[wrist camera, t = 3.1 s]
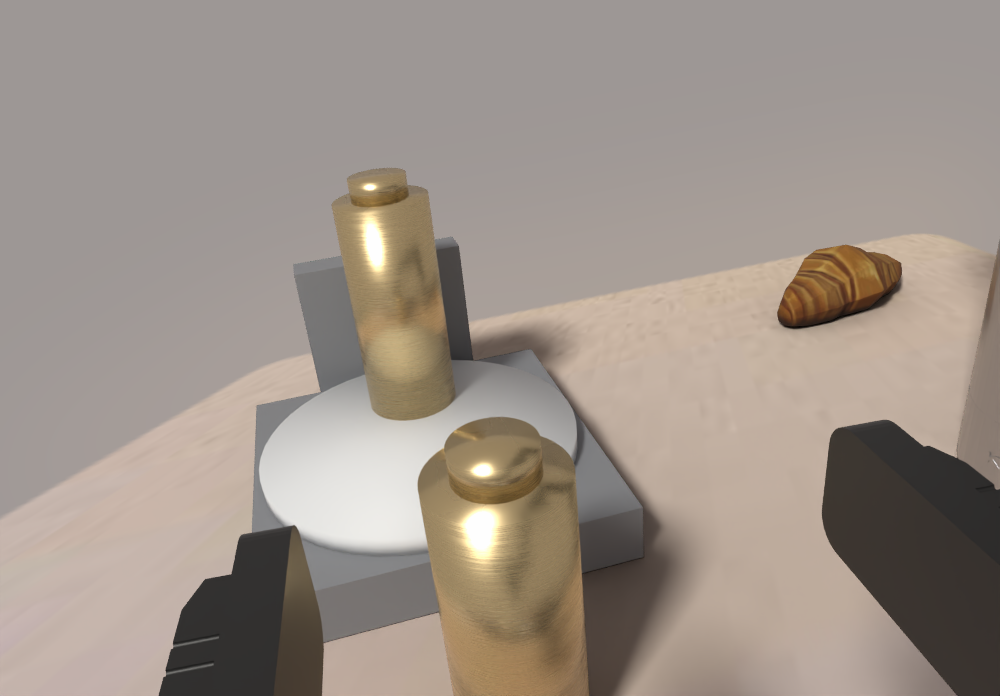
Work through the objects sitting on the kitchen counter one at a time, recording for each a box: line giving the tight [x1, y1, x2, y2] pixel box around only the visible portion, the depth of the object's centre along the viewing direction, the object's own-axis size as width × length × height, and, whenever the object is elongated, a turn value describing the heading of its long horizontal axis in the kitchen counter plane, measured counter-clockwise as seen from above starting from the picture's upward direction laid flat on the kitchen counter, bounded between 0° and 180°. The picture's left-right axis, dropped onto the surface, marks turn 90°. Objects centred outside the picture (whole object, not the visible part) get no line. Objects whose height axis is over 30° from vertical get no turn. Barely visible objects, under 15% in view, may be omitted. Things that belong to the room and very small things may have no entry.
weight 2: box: [417, 417, 589, 696], centre depth 27 cm, size 5×5×13 cm
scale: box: [252, 237, 644, 643], centre depth 43 cm, size 18×21×11 cm
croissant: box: [777, 245, 902, 326], centre depth 60 cm, size 14×7×5 cm, turn 123°
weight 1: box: [332, 168, 456, 421], centre depth 43 cm, size 5×5×13 cm
